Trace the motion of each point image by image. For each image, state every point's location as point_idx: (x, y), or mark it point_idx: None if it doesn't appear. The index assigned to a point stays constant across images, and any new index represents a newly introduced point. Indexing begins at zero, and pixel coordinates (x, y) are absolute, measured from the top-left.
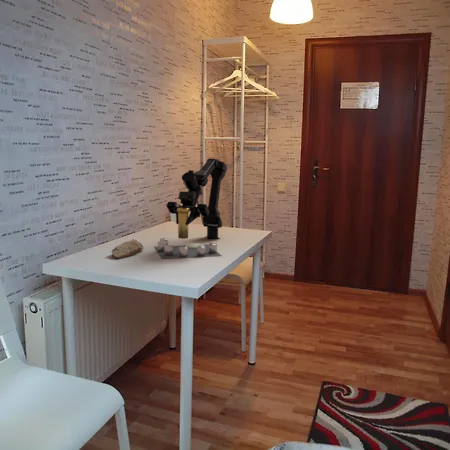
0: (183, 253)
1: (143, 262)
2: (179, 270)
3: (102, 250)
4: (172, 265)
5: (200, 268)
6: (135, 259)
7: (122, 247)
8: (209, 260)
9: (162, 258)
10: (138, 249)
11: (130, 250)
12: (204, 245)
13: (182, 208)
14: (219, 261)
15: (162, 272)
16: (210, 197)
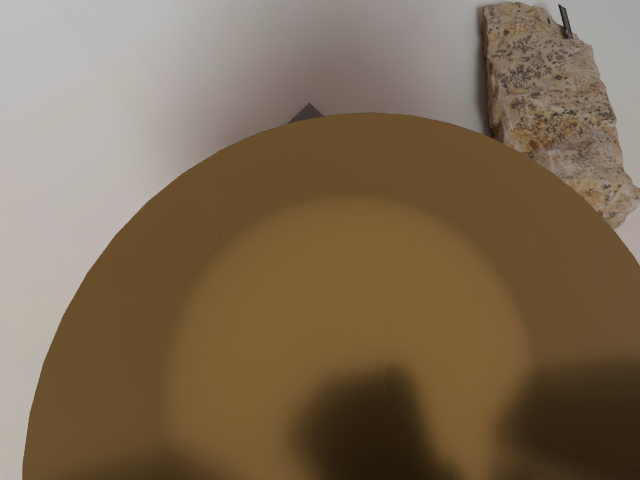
0: None
1: (354, 32)
2: (126, 2)
3: None
4: (205, 55)
5: (51, 77)
6: (420, 56)
7: (557, 61)
8: (86, 237)
9: (315, 117)
10: (499, 134)
11: (501, 73)
12: None
13: (347, 291)
14: (22, 250)
15: None
16: None
